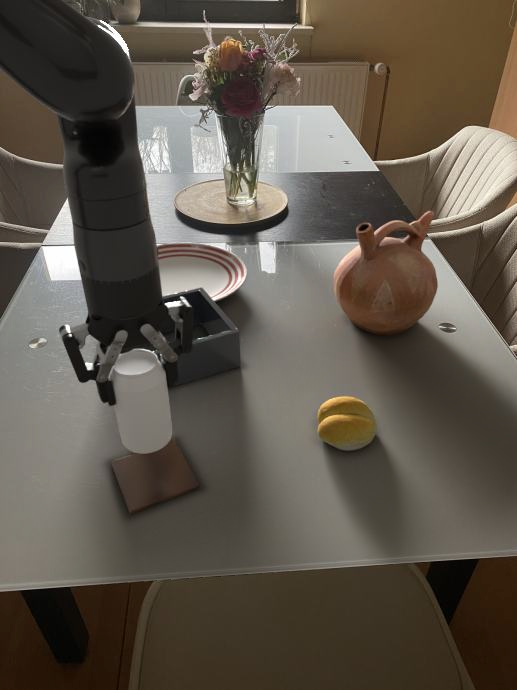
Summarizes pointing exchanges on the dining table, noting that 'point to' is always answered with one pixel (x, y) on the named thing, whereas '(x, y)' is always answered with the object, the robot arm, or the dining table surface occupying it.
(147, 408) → the beverage can
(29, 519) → the dining table surface
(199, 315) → the grey open box
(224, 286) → the dinner plate
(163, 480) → the coaster
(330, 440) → the bread roll
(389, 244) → the jug
